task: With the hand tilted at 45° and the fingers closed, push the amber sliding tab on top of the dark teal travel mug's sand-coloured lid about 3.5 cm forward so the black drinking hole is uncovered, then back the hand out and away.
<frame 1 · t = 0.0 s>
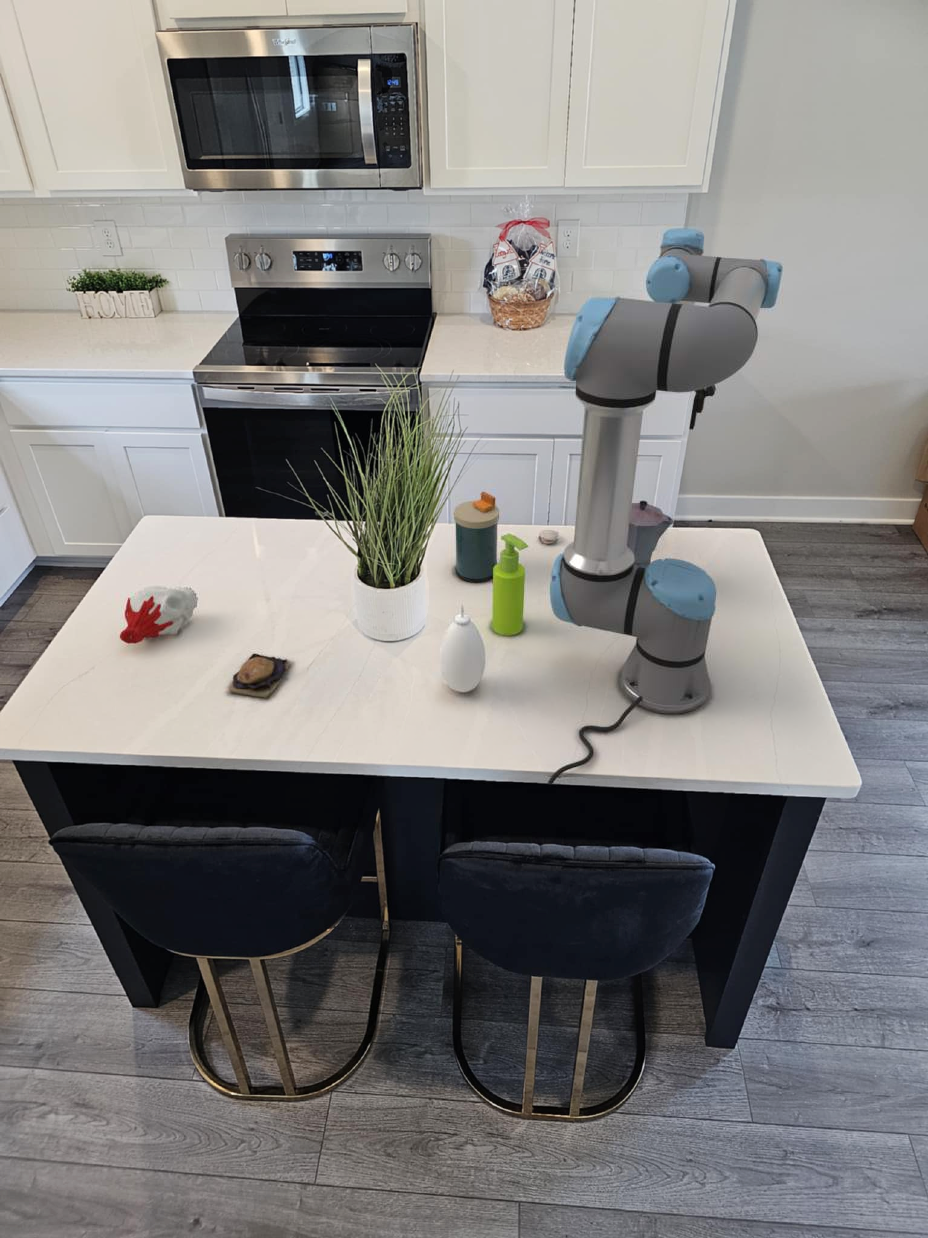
hand: (658, 422, 175), 28 cm above the kitchen island, tool pointing down, fingers open, 13 cm apart
macaroon: (549, 541, 191), on the kitchen island
soap dispenser: (509, 628, 164), on the kitchen island
moka pot: (625, 587, 176), on the kitchen island
travel mug: (476, 571, 181), on the kitchen island
slider: (484, 501, 173), point 16 cm above the kitchen island, slide at 0.0 cm
white decorated figurine: (158, 633, 164), on the kitchen island
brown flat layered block: (260, 679, 152), on the kitchen island
sauce bottle: (462, 689, 150), on the kitchen island
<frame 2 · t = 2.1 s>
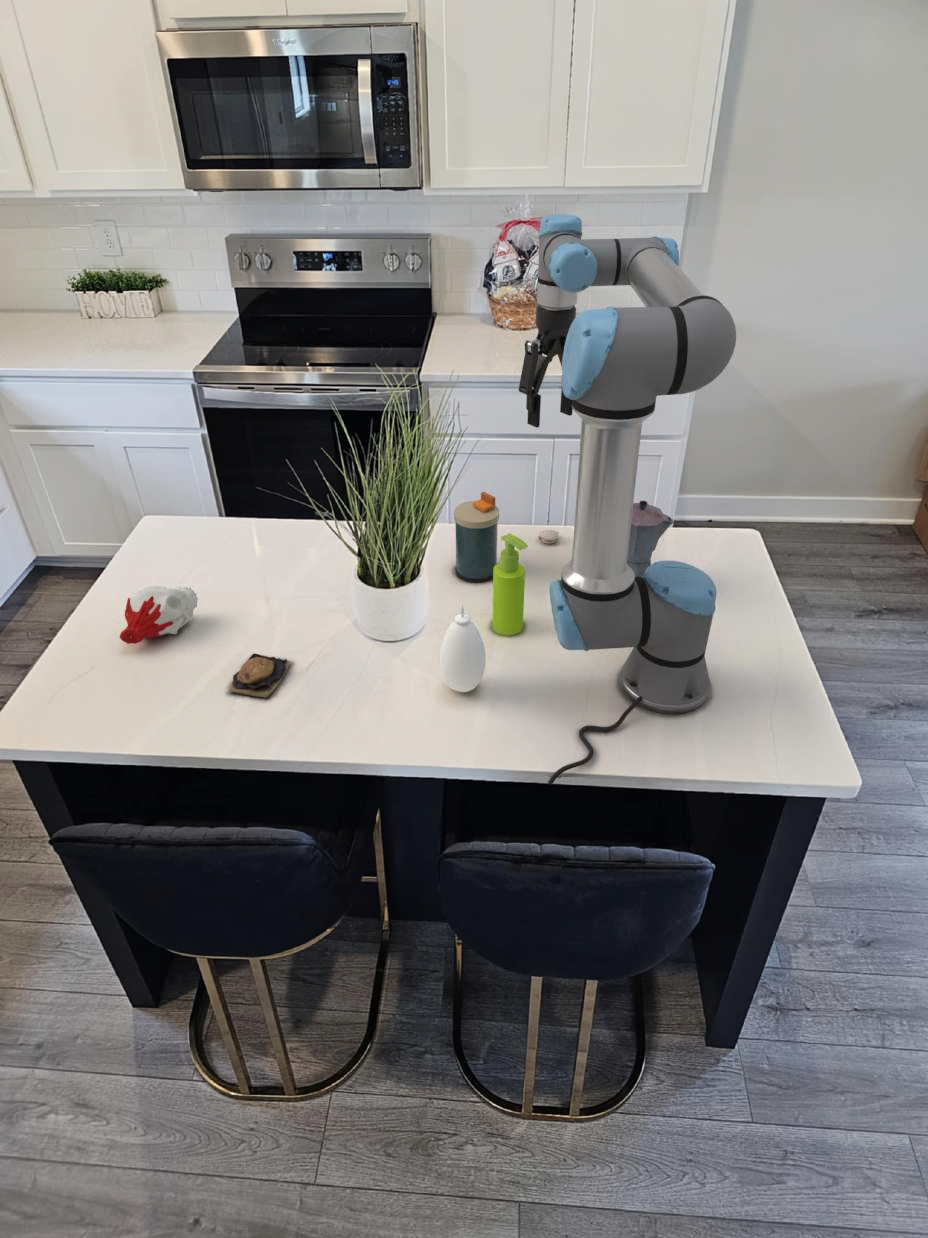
hand: (549, 419, 173), 29 cm above the kitchen island, tool pointing down, fingers open, 9 cm apart
nothing on the kitchen island moved.
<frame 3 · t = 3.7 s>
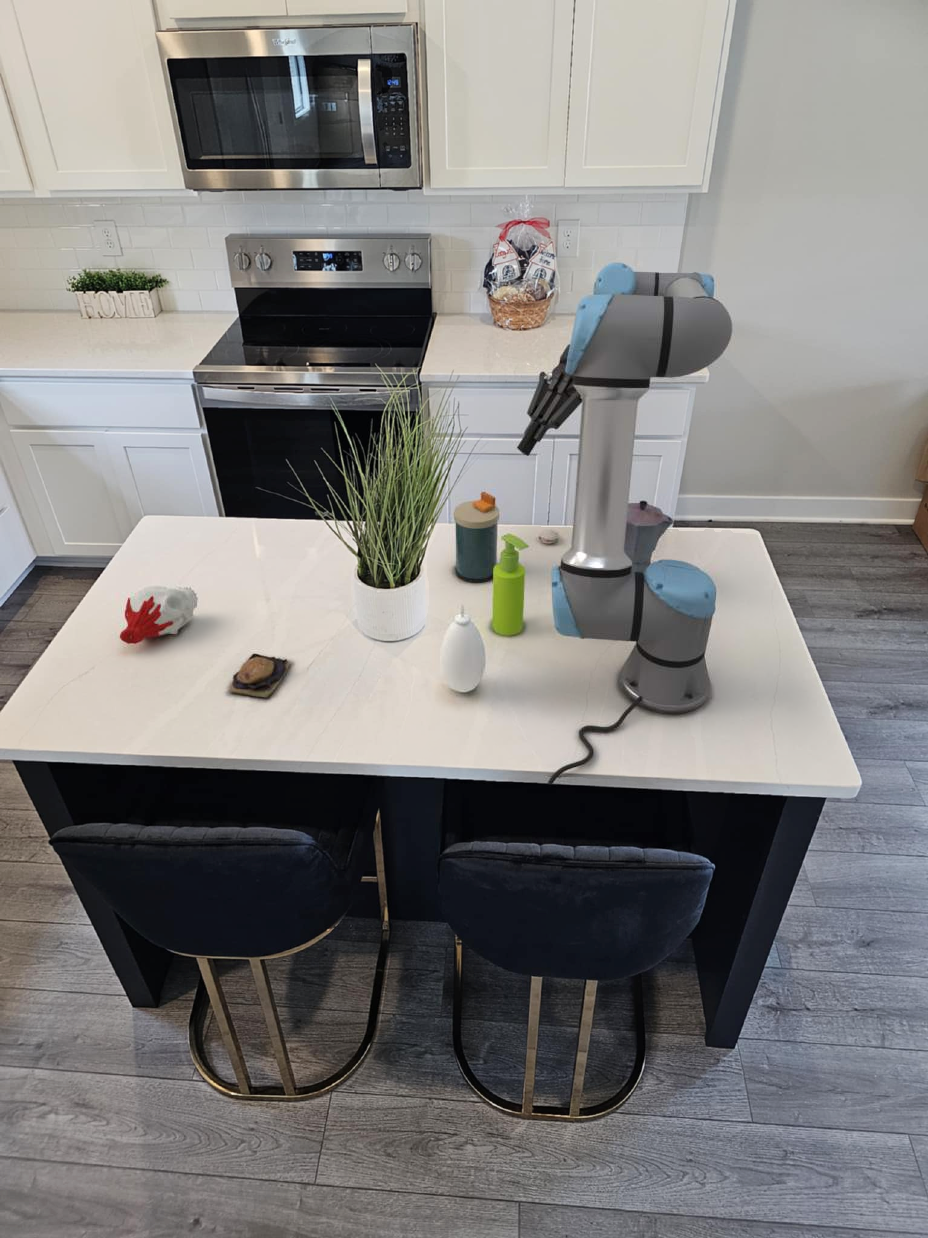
hand: (522, 451, 174), 24 cm above the kitchen island, tool tilted 45°, fingers closed
nothing on the kitchen island moved.
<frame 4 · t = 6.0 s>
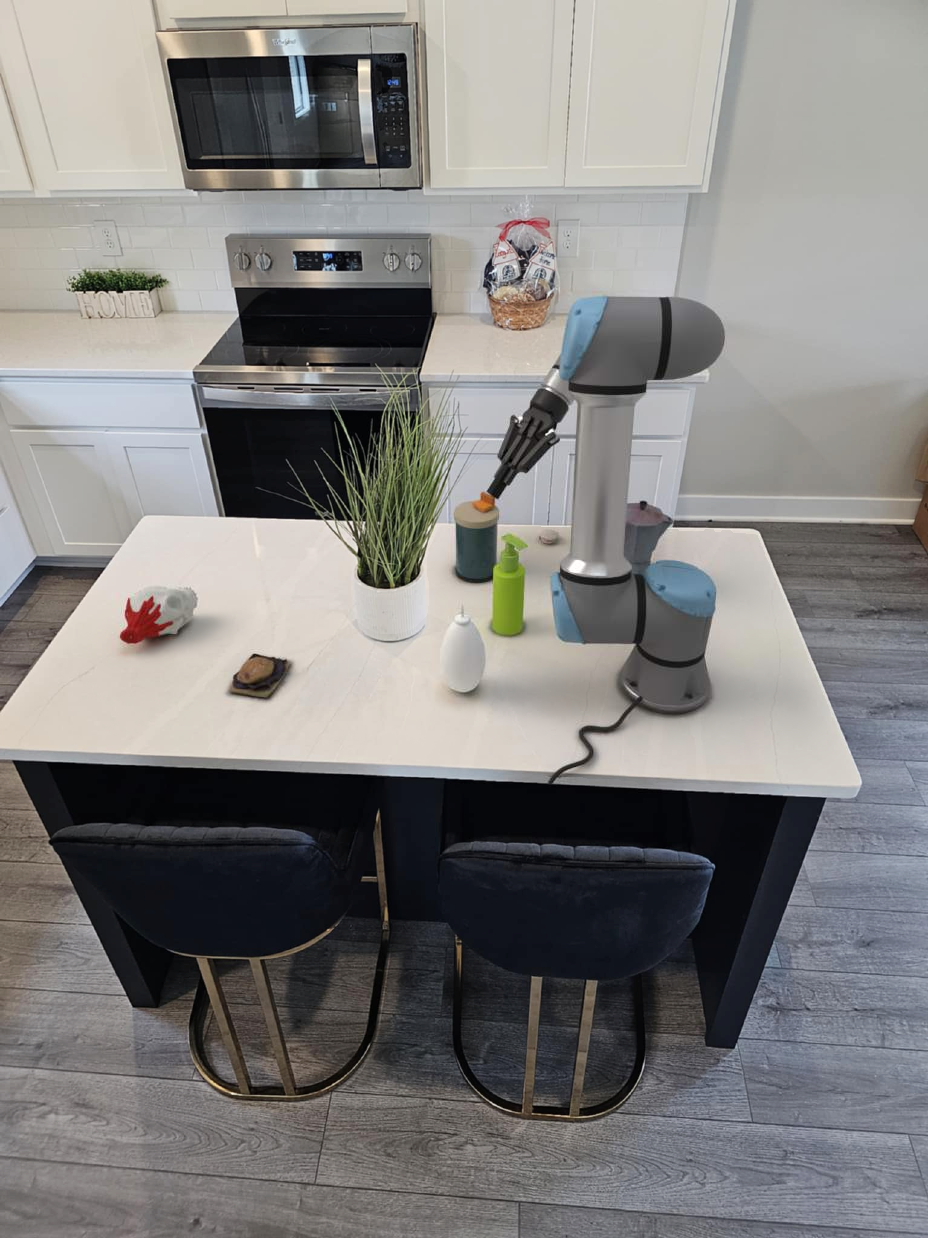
hand: (492, 495, 173), 17 cm above the kitchen island, tool tilted 45°, fingers closed
slider: (483, 501, 173), point 16 cm above the kitchen island, slide at 0.1 cm, touching gripper
everything else where it was.
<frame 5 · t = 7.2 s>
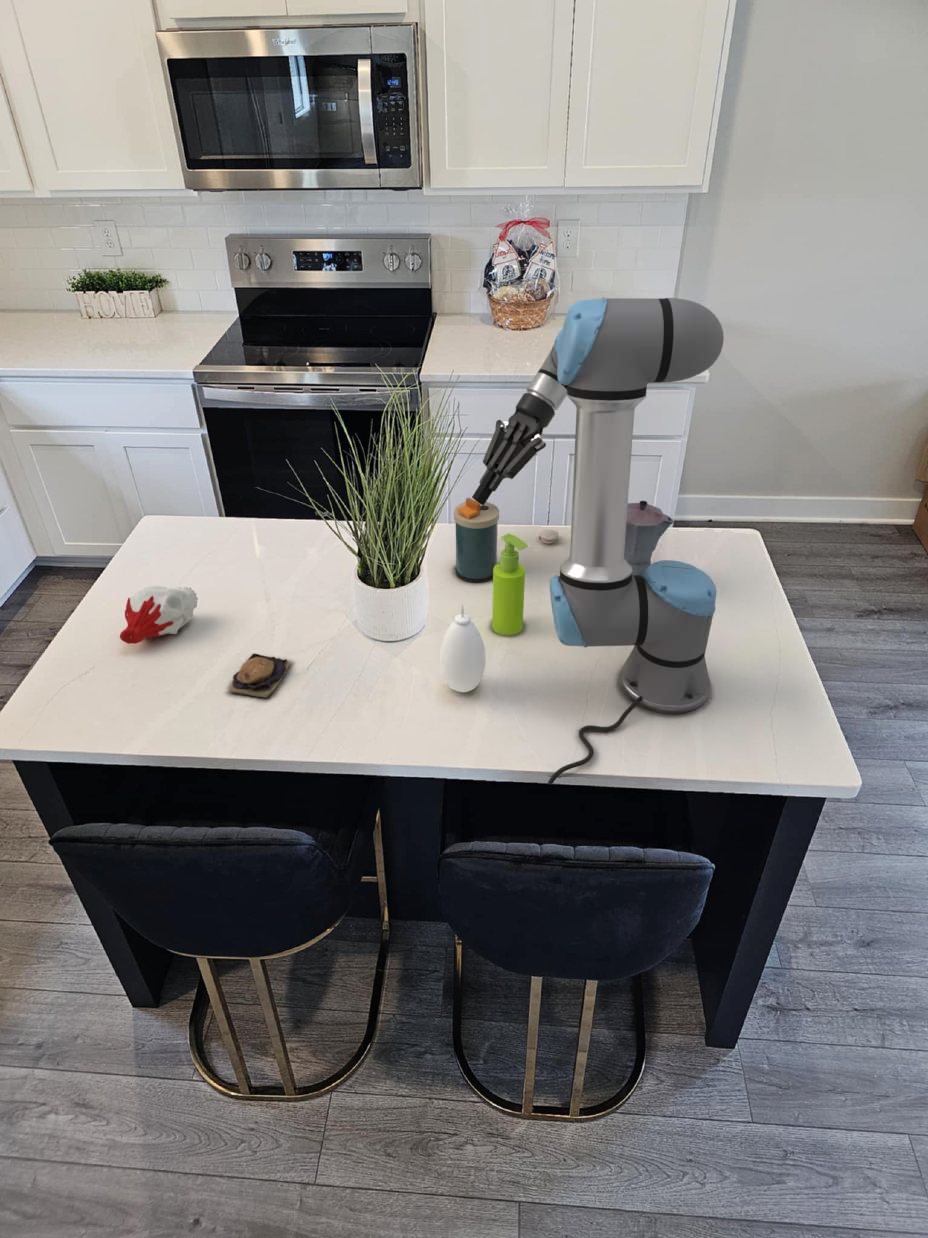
hand: (477, 501, 171), 17 cm above the kitchen island, tool tilted 45°, fingers closed
slider: (468, 507, 170), point 16 cm above the kitchen island, slide at 4.1 cm, touching gripper
everything else where it was.
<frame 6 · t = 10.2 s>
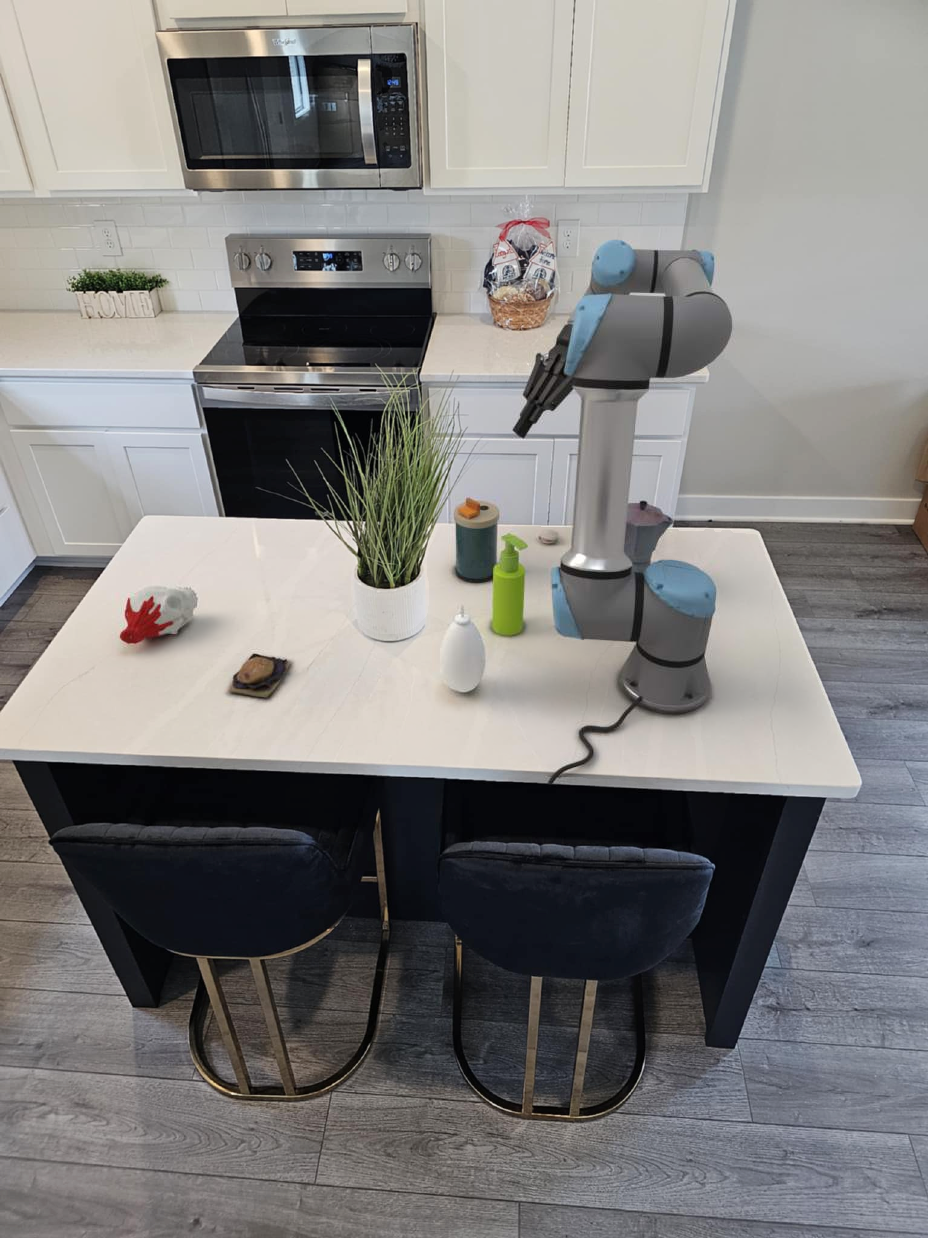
hand: (518, 434, 170), 28 cm above the kitchen island, tool tilted 45°, fingers closed
slider: (468, 507, 170), point 16 cm above the kitchen island, slide at 4.1 cm
everything else where it was.
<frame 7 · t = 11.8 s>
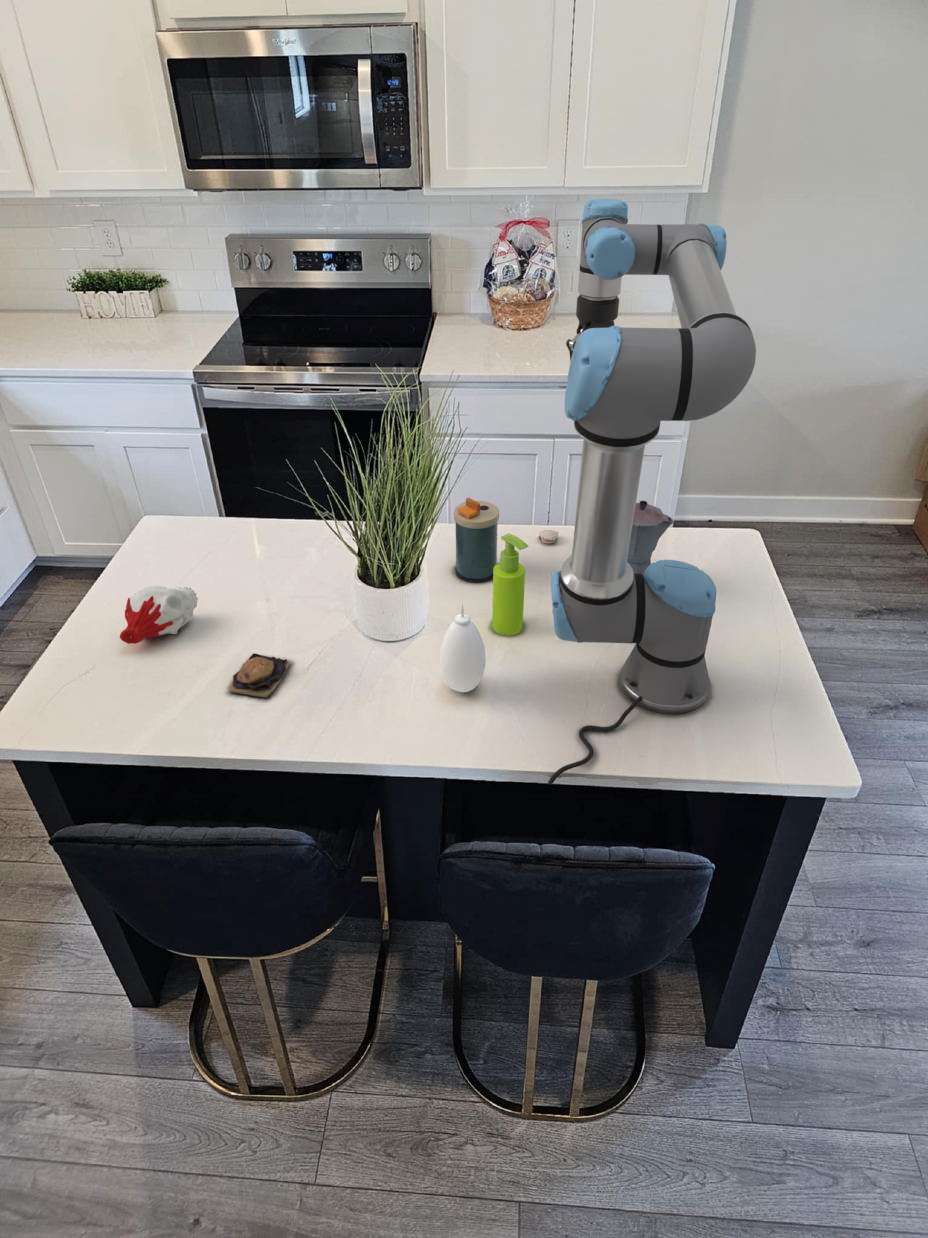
hand: (587, 421, 165), 32 cm above the kitchen island, tool pointing down, fingers closed
nothing on the kitchen island moved.
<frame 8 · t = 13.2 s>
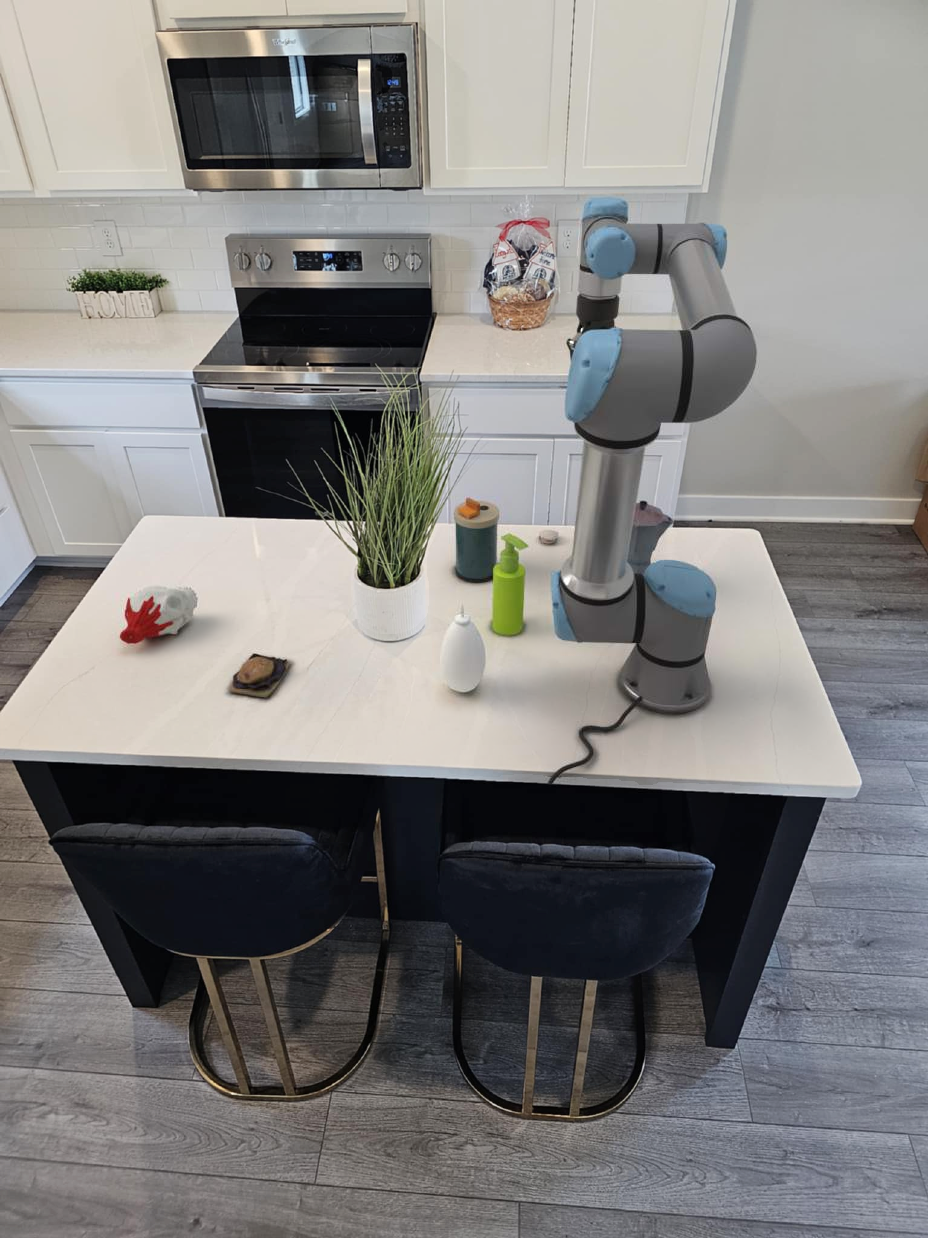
hand: (588, 419, 165), 32 cm above the kitchen island, tool pointing down, fingers closed
nothing on the kitchen island moved.
at the end: slider slide at 4.1 cm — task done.
